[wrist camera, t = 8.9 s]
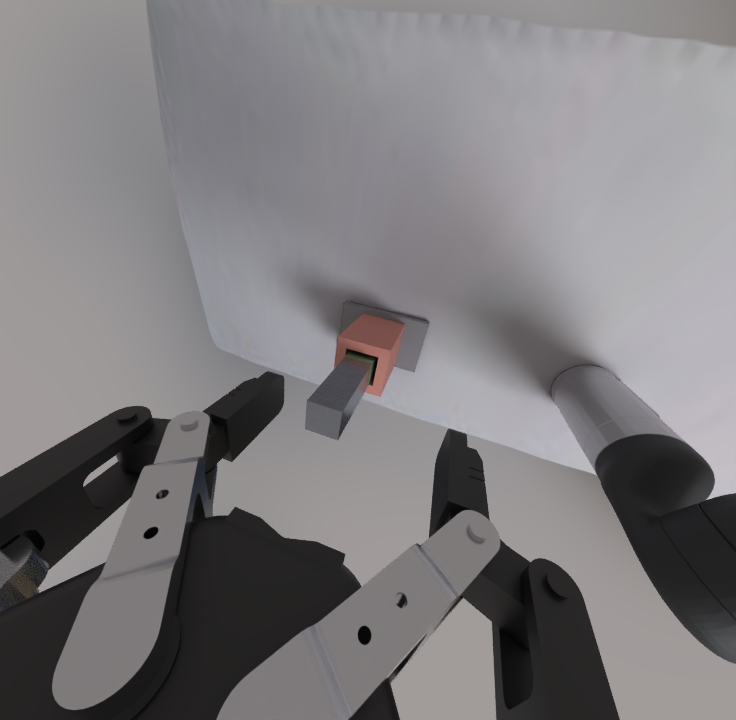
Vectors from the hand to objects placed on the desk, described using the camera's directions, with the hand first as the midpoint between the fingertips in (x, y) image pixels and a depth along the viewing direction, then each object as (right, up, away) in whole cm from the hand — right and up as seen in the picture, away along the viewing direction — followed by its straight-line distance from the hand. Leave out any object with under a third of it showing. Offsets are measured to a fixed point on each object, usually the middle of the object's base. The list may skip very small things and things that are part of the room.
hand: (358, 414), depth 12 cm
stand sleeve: (+3, +7, +40) cm, 40 cm away
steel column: (+1, +4, +32) cm, 32 cm away
